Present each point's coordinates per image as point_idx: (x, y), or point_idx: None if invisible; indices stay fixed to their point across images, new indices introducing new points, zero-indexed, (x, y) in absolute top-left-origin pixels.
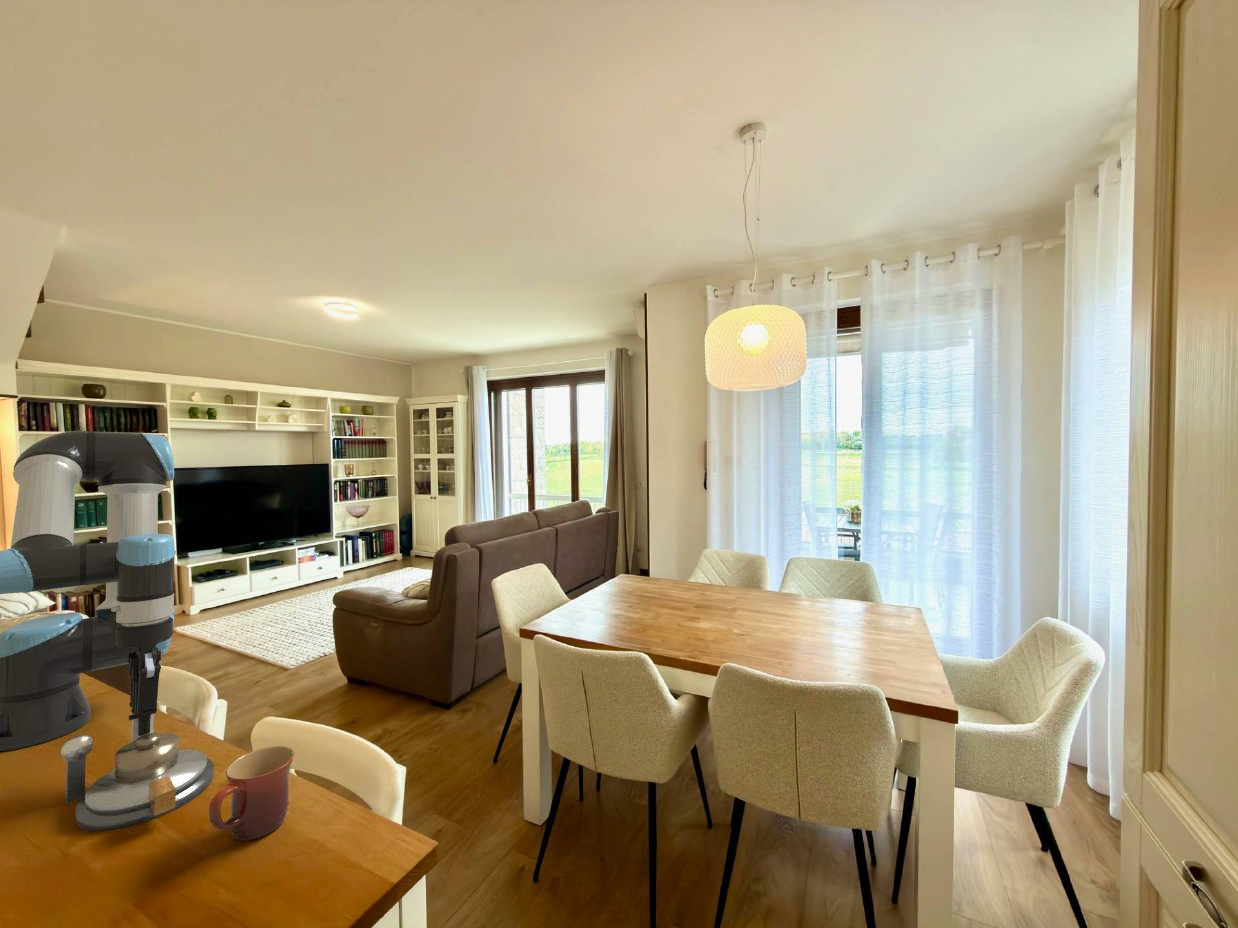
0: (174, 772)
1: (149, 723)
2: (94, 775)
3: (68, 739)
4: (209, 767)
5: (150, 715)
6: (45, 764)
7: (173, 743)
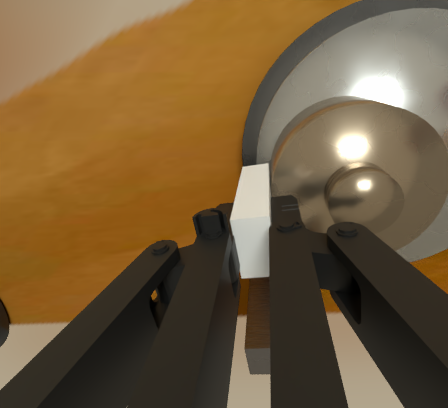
0: (436, 104)
1: (299, 213)
2: (187, 233)
3: (250, 372)
4: (410, 5)
5: (306, 229)
6: (89, 290)
7: (417, 120)
